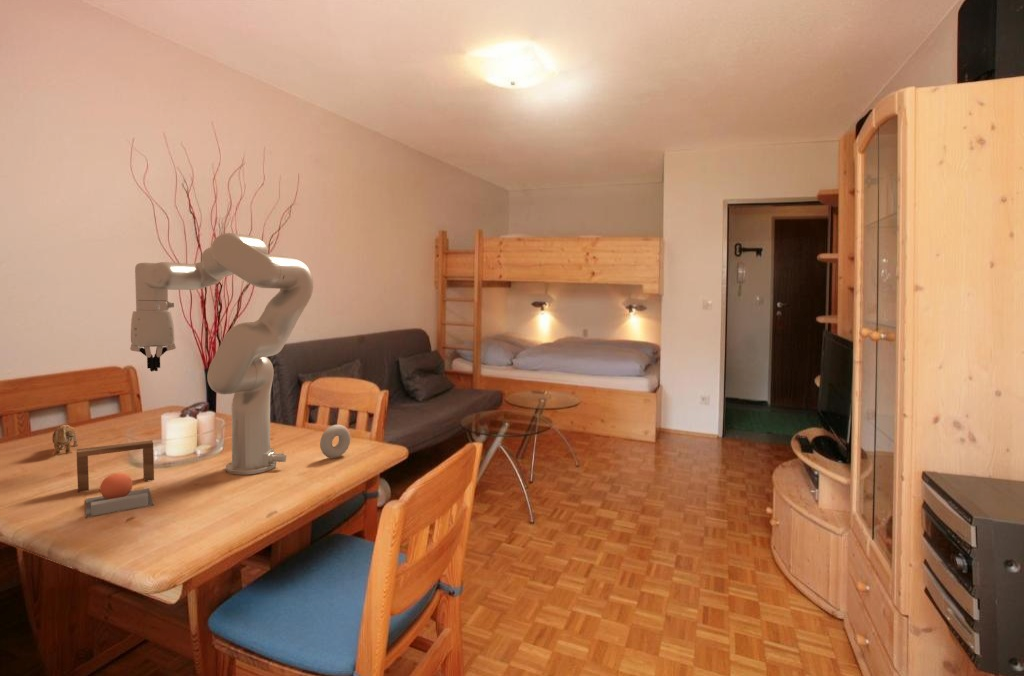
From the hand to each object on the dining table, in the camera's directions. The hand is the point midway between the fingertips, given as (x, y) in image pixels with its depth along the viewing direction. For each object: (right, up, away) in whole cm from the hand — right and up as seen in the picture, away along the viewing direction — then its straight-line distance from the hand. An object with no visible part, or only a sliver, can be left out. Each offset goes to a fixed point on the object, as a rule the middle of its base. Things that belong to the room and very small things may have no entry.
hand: (153, 370), depth 151 cm
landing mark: (+13, -28, -31) cm, 44 cm away
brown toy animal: (-28, -24, +4) cm, 37 cm away
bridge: (+5, -27, -20) cm, 34 cm away
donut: (+50, -27, +6) cm, 57 cm away
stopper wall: (+16, -29, -35) cm, 48 cm away
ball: (+11, -25, -30) cm, 40 cm away
